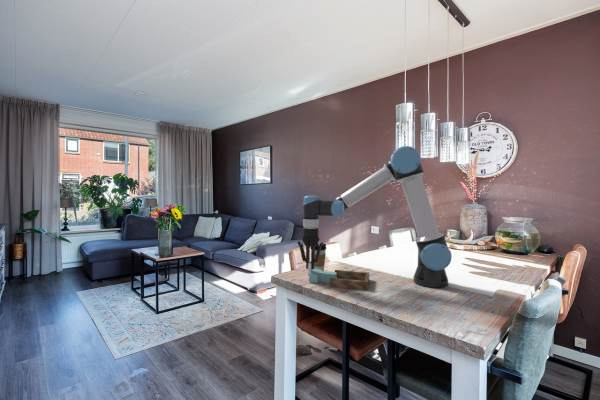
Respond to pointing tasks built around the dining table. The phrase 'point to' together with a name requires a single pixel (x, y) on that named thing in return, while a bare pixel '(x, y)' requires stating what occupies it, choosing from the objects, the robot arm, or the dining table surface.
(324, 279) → the tee block
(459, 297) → the dining table surface
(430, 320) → the dining table surface
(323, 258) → the coffee cup
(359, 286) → the dock
